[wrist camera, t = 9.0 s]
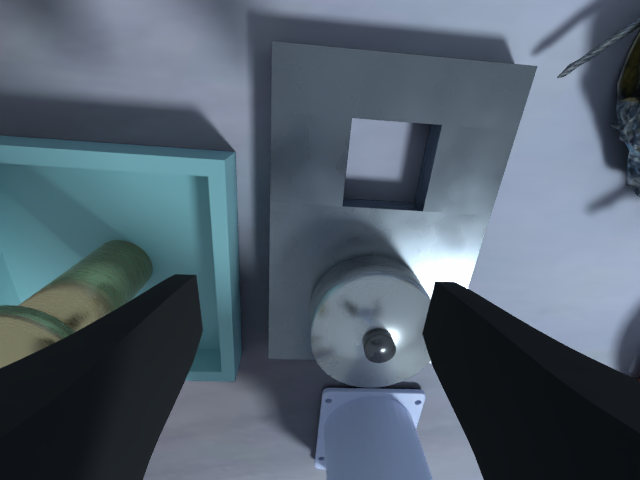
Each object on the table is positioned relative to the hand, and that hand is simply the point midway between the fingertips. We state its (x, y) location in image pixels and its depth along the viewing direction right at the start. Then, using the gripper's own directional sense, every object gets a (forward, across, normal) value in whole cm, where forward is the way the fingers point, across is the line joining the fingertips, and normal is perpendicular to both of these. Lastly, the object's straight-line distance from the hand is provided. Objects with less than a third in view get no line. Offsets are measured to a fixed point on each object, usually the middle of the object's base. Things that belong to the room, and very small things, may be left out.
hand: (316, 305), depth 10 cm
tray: (+9, +11, +4) cm, 15 cm away
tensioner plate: (+9, -4, +1) cm, 10 cm away
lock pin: (+9, +11, +4) cm, 15 cm away
